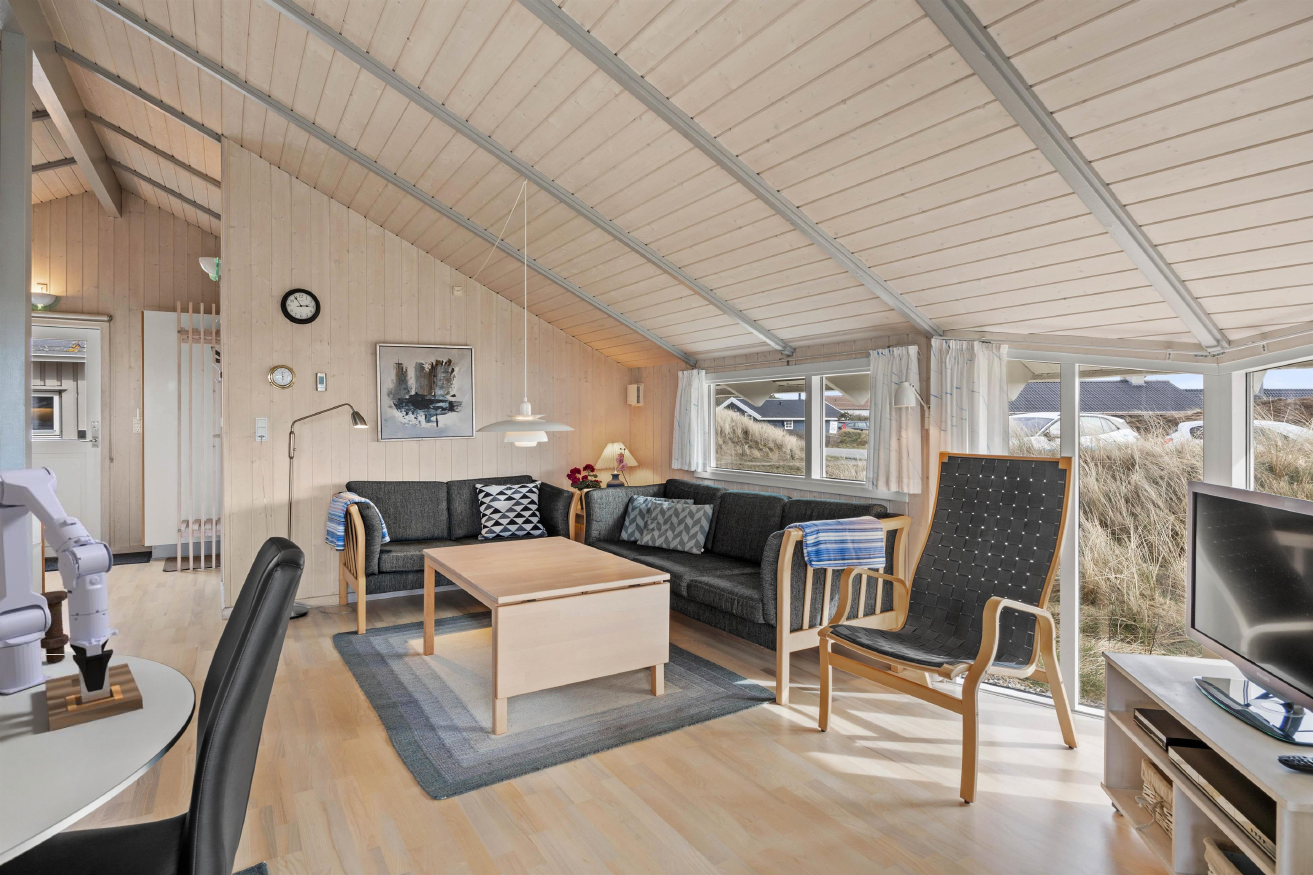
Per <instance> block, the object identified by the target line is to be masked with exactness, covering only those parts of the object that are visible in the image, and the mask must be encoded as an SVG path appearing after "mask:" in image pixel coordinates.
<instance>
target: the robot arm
mask: <svg viewBox="0 0 1313 875" xmlns="http://www.w3.org/2000/svg"><path fill="white" fill-rule="evenodd" d="M57 489H58V480H57V476H56V473H55V472H54V470H52V469H51V468H50V467H48V466H42V467H38V468H37V467H34V468H22V469H12V470H11V469H10V470H1V471H0V694H5V695H10V694H15V693H16V692H20V691H23V690H26V689H28V688H31V687H35V686H37V685H41V684H44V683H45V680H49V679H54V676H51V675H44V673H43V672H44V671H43V660H42V659H43V658H42V648H41V642H40V640H41V639H42V638H44V636H45V635H44V633H45V632H46V631H47V630H48V628H49V627H50V624H51V615H50V611H49V609H48V605H47V600H46V598H45V597H44V596H42V595H40V594H41V593H38V592H35V591H32V585H31V584H32V582H31V567H30V566H31V564H30V550H29V536H28V531H29V530H28V516H27V515H28V514H29V512H31V513H32V514H33V515H34V517H36V519H37V520H39V522H40V523H41V524H42V525H43V526H44V529H43V531H42V537H43V539H44V540H45V541H46V542H47V544H48V545H49V546H50V548H51V550H52V551H53V553H54V554H55V555H56V557H57V558H58V562H57V570H58V572H59V574H60V577H61V580H62V586H63V589H64V590H66V592H67V597H68V598H67V611H68V623H69V627H68V628H69V641H68V643H69V648H71V649H72V651H73V652H74V654H72V660H73V662H74V663H75V664H76V665H77V667H78V669H79V668H80V670H81V672H82V675H83V678H84V682H85V686H86V689H87V691H88V692H93V691H97V690H102V689H103V686H104V681H105V674H106V669H107V665H108V666H109V662H110V660H111V658H112V656H113V655H114V654H113V653H114V650H113V648H111V649H105V648H106V645H107V643H108V641H109V639H110V638H111V637H112V636H116V635H118V634H119V630H118V628H113V629H110V627H111V625H110V612H109V611H110V609H109V608H110V607H109V597H108V596H109V594H108V593H109V592H108V579H107V578H108V576H107V573H109V572H110V571H111V570H112V568H113V565H114V557H113V553H112V550H111V548H110V546H109V544H108V543H107V542H105V541H101V540H100V539H93V537H92V536H91V535H90V533H89V532H88V530H87V529H86V528H85V527H84V525H83V524H82V523H81V521H80V520H79V519H78V518H76V516H68V514H67V513H66V510H64V507H63V506H62V504H61V502H60V500H59V499H58V497H57Z"/></svg>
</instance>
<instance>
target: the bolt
mask: <svg viewBox="0 0 1313 875" xmlns="http://www.w3.org/2000/svg"><path fill="white" fill-rule="evenodd" d="M39 594H40V595H42V596H44V597H45V598H46V600H47V605H48V609H49V611H50V615H51V624H50V627H49V628H48V630H47V631H46V632H45V633H44V637H41V638H40V642H41V649H45V660H46V661H45V662H46V663H47V664H52V663H53V664H57V663H60V662H62V661H64V660H65V658H66V652H65V651H66V650H65V645H67V644H68V643H69V638H70V635H69V634H66V633H64V627H63V626H64V625H63V612H62V611H63V602H64V601H65V600H68V597H67V590H66V591H65V590H54V591H45V592H42V593H39ZM46 654H65V655H46Z"/></svg>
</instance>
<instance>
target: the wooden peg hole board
mask: <svg viewBox="0 0 1313 875" xmlns="http://www.w3.org/2000/svg"><path fill="white" fill-rule="evenodd" d="M108 669H109V685H110V698H108V699H104V700H100V701H96V702H91V703H87V704H83V705H81V697H80V682H79V672H78V673H73V674H70V675H69V674H68V675H65V676H64V675H63V676H58V677H55V678H54V679H49V680H45V682H44V683H45V694H46V695H45V696H46V704H47V714H48V724H49V725H48V726H49V732H52V731H56V730H60V729H64V728H68V727H69V728H70V727H72V726H76V725H77V726H78V725H81V724H85V723H88V722H93V721H97V720H101V719H105V718H110V717H112V716H117V715H120V714H124V713H128V712H133V711H137V710H142V709H144V702H143V700H144V699H143V695H142V694H141V692H140V689H139V686H138V684H137V682H136V680H135V678H134V675H133V673H132V671H131V668H130V667H129V664H128V662H126V663H121V664H117V665H112V666H108Z"/></svg>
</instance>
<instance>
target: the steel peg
mask: <svg viewBox="0 0 1313 875" xmlns="http://www.w3.org/2000/svg"><path fill="white" fill-rule="evenodd" d="M108 667H109V664H108V665H107V669H106V674H105V681H104V686H103V689H102V690H97V691H93V692H88V691H87V689H86V686H85V682H84V678H83V675H82V672H81V670H80V668H79V667H78V673H79V682H80V697H81V705H83V704H87V703H91V702H96V701H100V700H104V699H108V698H110V685H109V669H108Z"/></svg>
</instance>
